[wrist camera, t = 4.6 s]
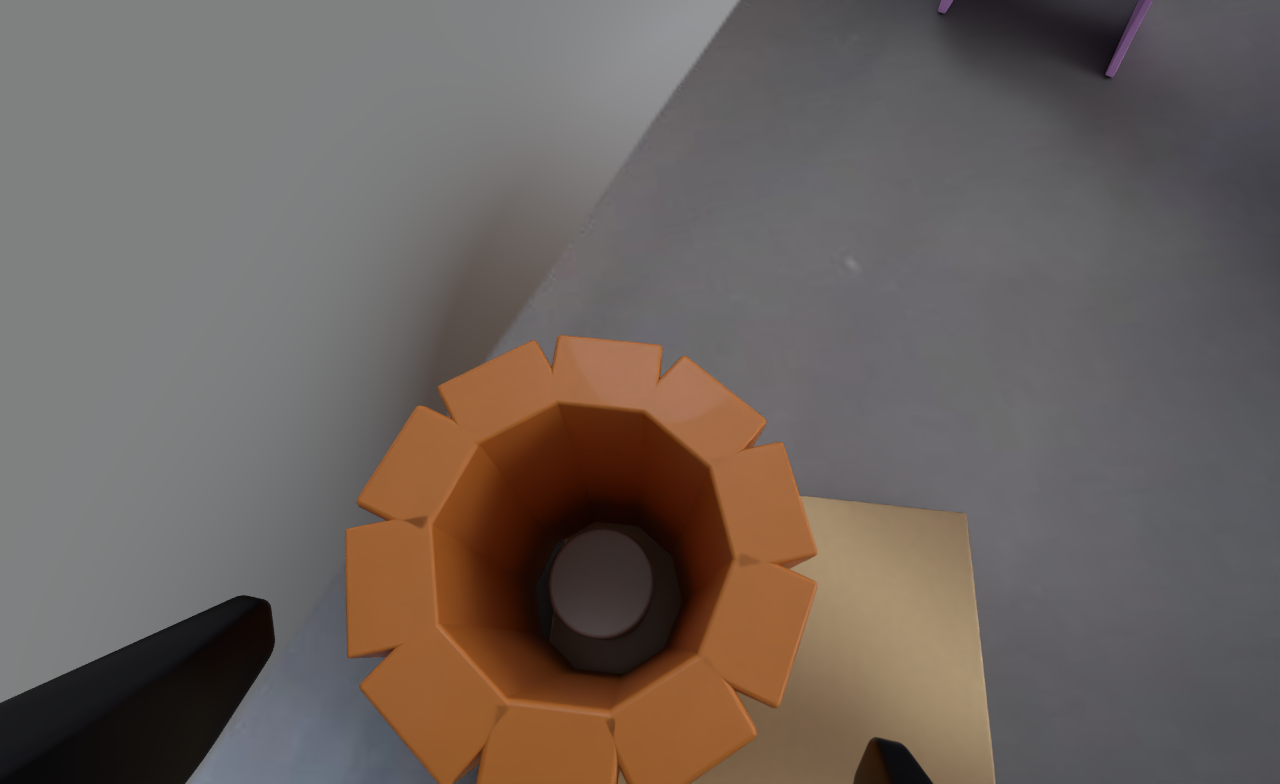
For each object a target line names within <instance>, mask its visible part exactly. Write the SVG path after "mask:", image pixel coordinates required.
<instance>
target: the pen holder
mask: <svg viewBox="0 0 1280 784" xmlns="http://www.w3.org/2000/svg"><path fill="white" fill-rule="evenodd" d="M662 350H663V349H662V346H661V345H656V344H646V343H636V342H626V341H616V340H606V339H596V338H586V337H576V336H566V335H559V336H558V338H557V342H556V347H555V353H554V358H553V364H552V367H551V365H550V364H549V362H548V360H547V358H546V357H545V355H544V353H543V351H542V350H541V348H540V346H539V344H538V343H537V342H536V341H535V340H532V341H530V342H528V343H526V344H524V345H522V346H520V347H517V348H515V349H513V350H511V351H509V352H507V353H505V354H503V355H501V356H499V357H497V358H495V359H493V360H491V361H489V362H487V363H484V364H482V365H480V366H478V367H476V368H474V369H472V370H470V371H468V372H466V373H464V374H462V375H460V376H458V377H456V378H454V379H451V380H449V381H447V382H445V383H443V384H441V385H440V386H438V391H439V393H440V396H441V398H442V400H443V402H444V404H445V406H446V408H447V410H448V412H449V415H450V417H451V418H449V417H447V416H445V415H442V414H440V413H438V412H436V411H434V410H431V409H429V408H427V407H425V406H417V407H416V408H415V410H414V411H413V413H412V414H411V416H410V417H409V419H408V420H407V422H406V424H405V425H404V427H403V428H402V430H401V432H400V433H399V434H398V436H397V438H396V439H395V441H394V442H393V444H392V445H391V447H390V448H389V450H388V452H387V453H386V455H385V456H384V458H383V459H382V461H381V463H380V464H379V466H378V467H377V469H376V470H375V472H374V473H373V475H372V476H371V478H370V480H369V481H368V483H367V484H366V486H365V487H364V489H363V490H362V492H361V494H360V495H359V497H358V499H357V504H358V506H359V507H361V508H363V509H365V510H367V511H369V512H371V513H373V514H375V515H377V516H379V517H381V518H383V519H385V520H387V521H383V522H378V523H373V524H368V525H363V526H358V527H353V528H349V529H347V530H346V531H345V548H346V549H345V550H346V613H347V656H348V658H371V657H386V658H385V659H384V660H383V661H382V662H381V663H380V664H379V665H378V666H377V667H376V668H375V669H374V670H373V671H372V672H371V673H370V674H369V675H368V676H367V677H366V678H365V679H364V680H363V681H362V682H361V684H360V686H359V687H360V690H361V691H362V692H363V694H364V695H365V696H366V697H367V699H368V700H369V701H370V702H371V703H372V705H373V706H374V707H375V708H376V709H377V711H378V712H379V713H380V714H381V715H382V717H383V718H384V719H385V720H386V721H387V723H388V724H389V725H390V726H391V728H392V729H393V730H394V731H395V732H396V734H397V735H398V736H399V737H400V738H401V740H402V741H403V742H404V743H405V744H406V746H407V747H408V748H409V749H410V750H411V752H412V753H413V754H414V755H415V757H416V758H417V759H418V760H419V761H420V763H421V764H422V765H423V766H424V767H425V769H426V770H427V771H428V772H429V773H430V775H431V776H432V777H433V778H434V779H435V781H436V782H437V783H438V784H454V783H456V782H457V781H458V780H459V779H461V778H462V777H463V776H465V775H466V774H467V773H469V772H470V771H471V770H472V769H474V768H475V767H476V766H478V765H479V770H478V775H477V781H476V784H618V778H619V770H621V772H622V775H623V777H624V779H625V781H626V783H627V784H691V783H692V782H694V781H695V780H697V779H698V778H700V777H701V776H702V775H704V774H705V773H707V772H708V771H710V770H711V769H713V768H714V767H715V766H717V765H718V764H720V763H721V762H723V761H724V760H726V759H727V758H728V757H730V756H731V755H733V754H734V753H736V752H737V751H739V750H740V749H742V748H743V747H744V746H746V745H747V744H749V743H750V742H752V741H753V740H754V739H755V738H756V736H757V728H756V726H755V724H754V722H753V721H752V719H751V717H750V715H749V714H748V712H747V710H746V708H745V707H744V705H743V703H742V701H741V699H740V698H739V696H738V694H737V692H739V693H741V694H743V695H745V696H748V697H750V698H752V699H754V700H756V701H758V702H760V703H763V704H765V705H767V706H769V707H771V708H778V707H779V706H780V705H781V702H782V699H783V696H784V693H785V689H786V686H787V683H788V680H789V677H790V673H791V670H792V667H793V664H794V661H795V658H796V654H797V651H798V648H799V645H800V642H801V639H802V635H803V632H804V629H805V626H806V623H807V620H808V616H809V613H810V610H811V607H812V604H813V601H814V597H815V594H816V591H817V583H816V582H815V581H814V580H812V579H810V578H808V577H805V576H803V575H801V574H799V573H797V572H794V571H792V570H790V568H792V567H794V566H796V565H798V564H800V563H802V562H804V561H807V560H809V559H811V558H813V557H815V556H816V555H817V552H818V550H817V547H816V544H815V541H814V538H813V535H812V532H811V528H810V525H809V522H808V519H807V516H806V513H805V510H804V506H803V503H802V500H801V497H800V494H799V491H798V488H797V484H796V481H795V478H794V475H793V472H792V469H791V466H790V462H789V459H788V456H787V453H786V450H785V447H784V445H783V443H782V442H777V443H772V444H767V445H762V446H757V447H753V446H754V444H755V442H756V441H757V439H758V437H759V436H760V434H761V432H762V431H763V429H764V427H765V426H766V423H767V421H766V420H765V418H764V417H762V416H761V415H760V414H758V413H757V412H756V411H755V410H753V409H752V408H751V407H750V406H748V405H747V404H746V403H745V402H743V401H742V400H741V399H740V398H738V397H737V396H736V395H735V394H733V393H732V392H731V391H730V390H728V389H727V388H726V387H724V386H723V385H722V384H721V383H719V382H718V381H717V380H716V379H714V378H713V377H712V376H711V375H709V374H708V373H707V372H706V371H704V370H703V369H702V368H701V367H699V366H698V365H697V364H696V363H694V362H693V361H692V360H690V359H689V358H688V357H687V356H682V357H680V358H679V360H678V361H677V362H676V363H675V364H674V365H673V366H672V367H671V368H670V369H669V370H668V371H667V372H666V373H665V374H664V375H663V376H662V377H661V378H660V372H661V361H662ZM594 522H603V523H612V524H621V525H630V526H639V527H640V528H641V529H642V530H643V531H645V532H646V533H647V534H648V535H649V536H650V537H651V538H652V539H653V540H654V541H656V542H657V543H658V544H659V545H660V546H661V547H662V548H663V549H664V550H665V551H666V552H668V553H669V554H670V555H671V556H672V559H673V563H674V568H675V572H676V577H677V581H678V586H679V590H680V595H681V599H682V605H681V607H680V610H679V613H678V615H677V618H676V620H675V623H674V625H673V628H672V630H671V633H670V635H669V638H668V640H667V643H666V645H665V648H664V649H663V650H661V651H659V652H658V653H656V654H655V655H653V656H651V657H650V658H648V659H647V660H645V661H643V662H642V663H640V664H639V665H637V666H636V667H634V668H632V669H631V670H629V671H628V672H626V673H624V674H615V673H607V672H599V671H590V670H582V669H575V668H574V667H573V665H572V664H571V663H570V662H569V661H568V660H567V659H566V658H565V657H564V656H563V655H562V654H561V653H560V652H559V651H558V650H557V649H556V648H555V647H554V646H553V645H552V644H551V643H550V642H549V641H548V640H547V639H546V637H545V636H544V635H543V634H542V628H541V621H540V614H539V606H538V599H537V591H536V584H537V582H538V580H539V578H540V576H541V574H542V572H543V570H544V568H545V566H546V564H547V562H548V560H549V558H550V556H551V554H552V552H553V550H554V548H555V546H556V544H557V543H559V542H561V541H562V540H564V539H566V538H568V537H569V536H571V535H573V534H575V533H576V532H578V531H580V530H582V529H584V528H585V527H587V526H589V525H591V524H592V523H594ZM736 691H737V692H736Z"/></svg>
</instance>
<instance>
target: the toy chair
mask: <svg viewBox="0 0 1280 784" xmlns="http://www.w3.org/2000/svg"><path fill="white" fill-rule="evenodd" d="M1152 1H1153V0H1139V1H1138V3H1137V5H1136V7H1135V9H1134V11H1133V14H1132V16H1131V18H1130V20H1129V22H1128V25H1127V27H1126V29H1125V31H1124V33H1123V36H1122V38H1121V40H1120V42H1119V44H1118V47H1117V49H1116V51H1115V53H1114V56H1113V58H1112V60H1111V62H1110V64H1109V67H1108V69H1107V71H1106V74H1105V75H1106V76H1109V77H1112V78H1113V77H1114V75H1115V73H1116V71H1117V69H1118V67H1119V65H1120V63H1121V61H1122V59H1123V57H1124V55H1125V53H1126V51H1127V49H1128V47H1129V45H1130V43H1131V41H1132V39H1133V37H1134V35H1135V33H1136V31H1137V29H1138V27H1139V26H1140V24H1141V22H1142V20H1143V18H1144V16H1145V14H1146V12H1147V10H1148V8H1149V7H1150V5H1151V3H1152ZM952 2H953V0H941V2H940V6H939V9H938V12H941V13H943V14H945V13H946V11H947V10H948V8H949V7H950V5H951V3H952Z"/></svg>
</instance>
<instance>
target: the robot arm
mask: <svg viewBox="0 0 1280 784" xmlns="http://www.w3.org/2000/svg"><path fill="white" fill-rule="evenodd" d="M274 644H275V635H274V627H273V619H272V610H271V605H270V604H269V603H268V601H266V600H264V599H259V598H255V597H251V596H245V595H243V596H237V597H235V598H232V599H230V600H228V601H225V602H223V603H221V604H219V605H217V606H214V607H212V608H210V609H208V610H206V611H203V612H201V613H199V614H197V615H195V616H192V617H190V618H188V619H186V620H183V621H181V622H179V623H177V624H174V625H172V626H170V627H168V628H166V629H163V630H161V631H159V632H157V633H154V634H152V635H150V636H148V637H146V638H144V639H141V640H139V641H137V642H134V643H133V644H130V645H128V646H126V647H124V648H121V649H119V650H117V651H115V652H112V653H110V654H108V655H106V656H104V657H101V658H99V659H97V660H95V661H92V662H90V663H88V664H86V665H84V666H81V667H79V668H77V669H75V670H73V671H70V672H68V673H66V674H64V675H61V676H59V677H57V678H55V679H53V680H50V681H48V682H46V683H44V684H42V685H39V686H37V687H35V688H32V689H30V690H28V691H26V692H24V693H21V694H19V695H17V696H15V697H13V698H10V699H8V700H6V701H4V702H1V703H0V784H185V783H186V782H187V780H188V779H189V778H190V777H191V775H192V774H193V773H194V771H195V770H196V769H197V767H198V766H199V764H200V763H201V762H202V760H203V759H204V758H205V756H206V755H207V753H208V752H209V750H210V749H211V747H212V746H213V745H214V743H215V741H216V740H217V738H218V737H219V735H220V734H221V732H222V731H223V729H224V728H225V726H226V725H227V723H228V721H229V720H230V718H231V717H232V715H233V714H234V712H235V711H236V709H237V707H238V706H239V704H240V703H241V701H242V700H243V698H244V697H245V695H246V693H247V692H248V690H249V689H250V687H251V685H252V684H253V683H254V681H255V680H256V678H257V676H258V675H259V673H260V672H261V670H262V669H263V667H264V666H265V664H266V662H267V661H268V659H269V658H270V656H271V653H272V651H273V648H274ZM853 784H933V782H932V781H931V780H930V778H929V777H928V775H927V774H926V773H925V771H924V770H923V769H922V767H921V766H920V765H919V763H918V762H917V761H916V759H915V758H914V757H913V755H912V754H911V753H910V751H909V750H908V749H907V747H905V746H904V745H903V744H902V743H900V742H898V741H894V740H889V739H885V738H880V737H873V738H872V739H870V741H869V742H868V744H867V747H866V749H865V752H864V754H863V756H862V759H861V761H860V763H859V766H858V768H857V770H856V773H855V776H854V782H853Z"/></svg>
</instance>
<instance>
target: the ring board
mask: <svg viewBox="0 0 1280 784" xmlns="http://www.w3.org/2000/svg"><path fill="white" fill-rule="evenodd" d="M800 497H801V500H802V503H803V506H804V510H805V513H806V516H807V519H808V522H809V525H810V528H811V532H812V535H813V538H814V541H815V544H816V547H817V550H818V552H817V555H816V556H815V557H813V558H811V559H809V560H807V561H804V562H802V563H800V564H798V565H796V566H794V567H792V568H790V570H792V571H794V572H797V573H799V574H801V575H803V576H805V577H808V578H810V579H812V580H814V581H815V582H816V583H817V591H816V594H815V597H814V601H813V604H812V607H811V610H810V613H809V616H808V620H807V623H806V626H805V629H804V632H803V635H802V639H801V642H800V645H799V648H798V651H797V654H796V658H795V661H794V664H793V667H792V670H791V673H790V677H789V680H788V683H787V686H786V689H785V693H784V696H783V699H782V702H781V705H780V706H779V707H778V708H771V707H769V706H767V705H765V704H763V703H760V702H758V701H756V700H754V699H752V698H750V697H748V696H745V695H743V694H741V693H739V692H737V691H736V692H737V694H738V696H739V698H740V699H741V701H742V703H743V705H744V707H745V708H746V710H747V712H748V714H749V715H750V717H751V719H752V721H753V722H754V724H755V726H756V728H757V736H756V738H755V739H754V740H753V741H752V742H750V743H749V744H747V745H746V746H744V747H743V748H742V749H740V750H739V751H737V752H736V753H734V754H733V755H731V756H730V757H728V758H727V759H726V760H724V761H723V762H721V763H720V764H718V765H717V766H715V767H714V768H713V769H711V770H710V771H708V772H707V773H705V774H704V775H702V776H701V777H700V778H698V779H697V780H695V781H694V782H692V783H691V784H853V782H854V776H855V773H856V770H857V768H858V766H859V763H860V761H861V759H862V756H863V754H864V752H865V749H866V747H867V744H868V742H869V741H870V739H872V738H873V737H880V738H885V739H889V740H894V741H898V742H900V743H902V744H903V745H904V746H905V747H907V749H908V750H909V751H910V753H911V754H912V755H913V757H914V758H915V759H916V761H917V762H918V763H919V765H920V766H921V767H922V769H923V770H924V771H925V773H926V774H927V775H928V777H929V778H930V780H931V781H932V782H933V784H996V781H995V771H994V762H993V753H992V744H991V734H990V725H989V716H988V706H987V697H986V688H985V678H984V669H983V660H982V651H981V641H980V632H979V623H978V613H977V604H976V595H975V585H974V576H973V567H972V558H971V548H970V539H969V530H968V520H967V515H966V514H964V513H958V512H948V511H939V510H930V509H920V508H911V507H902V506H892V505H883V504H874V503H865V502H855V501H846V500H837V499H827V498H818V497H809V496H800ZM548 590H549V596H550V600H551V604H552V606H553V608H554V613H553V620H552V626H551V633H550V639H549V642H550V643H551V644H552V645H553V646H554V647H555V648H556V649H557V650H558V651H559V652H560V653H561V654H562V655H563V656H564V657H565V658H566V659H567V660H568V661H569V662H570V663H571V664H572V665H573V667H574V668H575V669H582V670H590V671H599V672H607V673H615V674H624V673H626V672H628V671H629V670H631V669H632V668H634V667H636V666H637V665H639V664H640V663H642V662H643V661H645V660H647V659H648V658H650V657H651V656H653V655H655V654H656V653H658V652H659V651H661V650H663V649H664V648H665V645H666V643H667V640H668V638H669V635H670V633H671V630H672V628H673V625H674V623H675V620H676V618H677V615H678V613H679V610H680V607H681V605H682V599H681V595H680V590H679V586H678V581H677V577H676V572H675V568H674V563H673V559H672V556H671V555H670V554H669V553H668V552H666V551H665V550H664V549H663V548H662V547H661V546H660V545H659V544H658V543H657V542H656V541H654V540H653V539H652V538H651V537H650V536H649V535H648V534H647V533H646V532H645V531H643V530H642V529H641V528H640V527H639V526H630V525H621V524H612V523H603V522H594V523H592V524H591V525H589V526H587V527H585V528H584V529H582V530H580V531H578V532H576V533H575V534H573V535H571V536H569V537H568V538H566V539H565V542H564V545H563V546H562V547H561V549H560V550H559V552H558V553H557V555H556V556H555V558H554V560H553V563H552V566H551V568H550V573H549V580H548ZM618 784H627V783H626V781H625V779H624V777H623V775H622V772H621V770H619V778H618Z"/></svg>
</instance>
